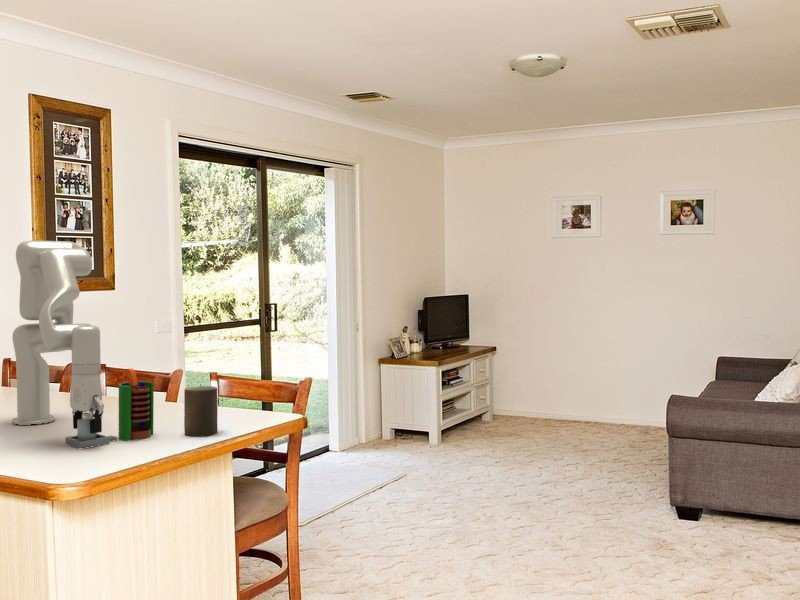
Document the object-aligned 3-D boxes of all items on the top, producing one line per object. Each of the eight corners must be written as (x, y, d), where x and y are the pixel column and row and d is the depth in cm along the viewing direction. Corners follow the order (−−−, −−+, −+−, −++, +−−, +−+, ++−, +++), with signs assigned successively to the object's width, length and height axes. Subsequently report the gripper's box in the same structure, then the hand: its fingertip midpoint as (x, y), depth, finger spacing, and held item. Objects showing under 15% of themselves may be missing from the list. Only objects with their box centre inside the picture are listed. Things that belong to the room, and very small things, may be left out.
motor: (139, 441, 227) (139, 371, 226) (111, 439, 229) (110, 370, 228) (157, 434, 237) (156, 367, 236) (130, 432, 239) (129, 366, 238)
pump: (74, 444, 223) (73, 413, 222) (91, 441, 227) (90, 410, 226) (82, 447, 219) (82, 415, 219) (100, 444, 223) (99, 413, 223)
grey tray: (65, 444, 223) (65, 437, 223) (106, 437, 232) (106, 430, 232) (80, 449, 217) (79, 441, 217) (121, 441, 226) (121, 434, 226)
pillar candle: (209, 437, 232) (209, 386, 232) (178, 435, 234) (178, 385, 233) (222, 431, 242) (222, 382, 241) (192, 429, 243) (192, 381, 243)
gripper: (59, 368, 225) (60, 428, 226) (88, 373, 214) (89, 436, 214) (84, 366, 231) (85, 424, 231) (114, 371, 219) (115, 432, 220)
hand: (87, 430), depth 223 cm, fingers open, 9 cm apart
